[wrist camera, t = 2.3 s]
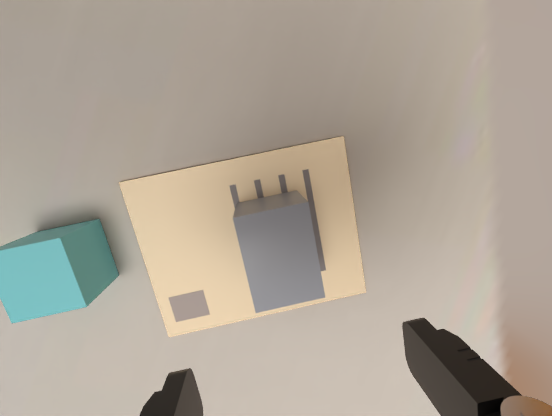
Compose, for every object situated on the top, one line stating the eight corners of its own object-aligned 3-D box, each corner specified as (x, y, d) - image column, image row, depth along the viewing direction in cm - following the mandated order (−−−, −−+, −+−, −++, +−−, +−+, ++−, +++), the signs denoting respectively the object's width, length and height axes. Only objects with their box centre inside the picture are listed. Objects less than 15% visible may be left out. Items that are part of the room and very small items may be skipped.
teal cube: (37, 231, 23) (-20, 254, 18) (99, 218, 23) (59, 237, 18) (60, 287, 24) (11, 323, 19) (119, 274, 24) (86, 306, 20)
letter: (120, 182, 23) (118, 182, 22) (342, 136, 23) (343, 136, 23) (169, 335, 26) (168, 337, 26) (364, 290, 27) (366, 292, 26)
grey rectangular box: (236, 202, 24) (232, 217, 19) (296, 190, 24) (308, 201, 19) (255, 280, 25) (255, 313, 20) (311, 268, 25) (325, 297, 20)
